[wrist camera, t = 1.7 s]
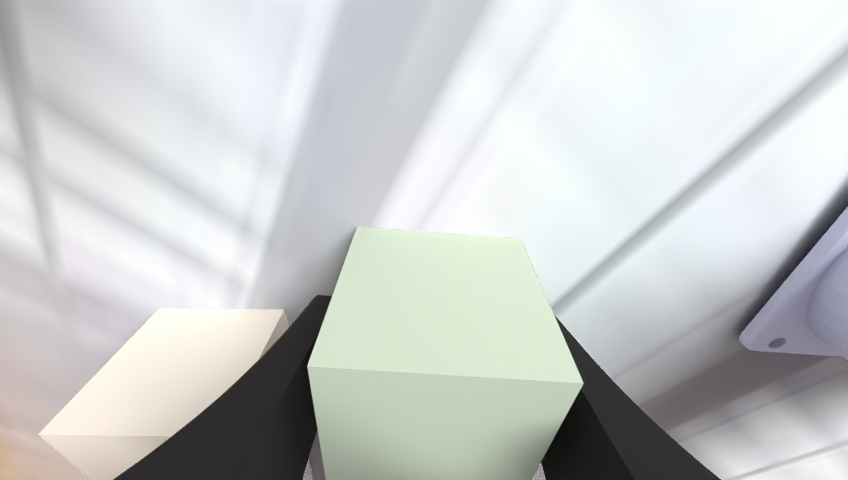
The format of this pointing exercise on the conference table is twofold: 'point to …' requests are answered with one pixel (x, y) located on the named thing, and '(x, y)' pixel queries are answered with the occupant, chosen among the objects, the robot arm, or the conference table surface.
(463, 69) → the conference table surface
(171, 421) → the cream block
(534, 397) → the sage block
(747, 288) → the conference table surface
